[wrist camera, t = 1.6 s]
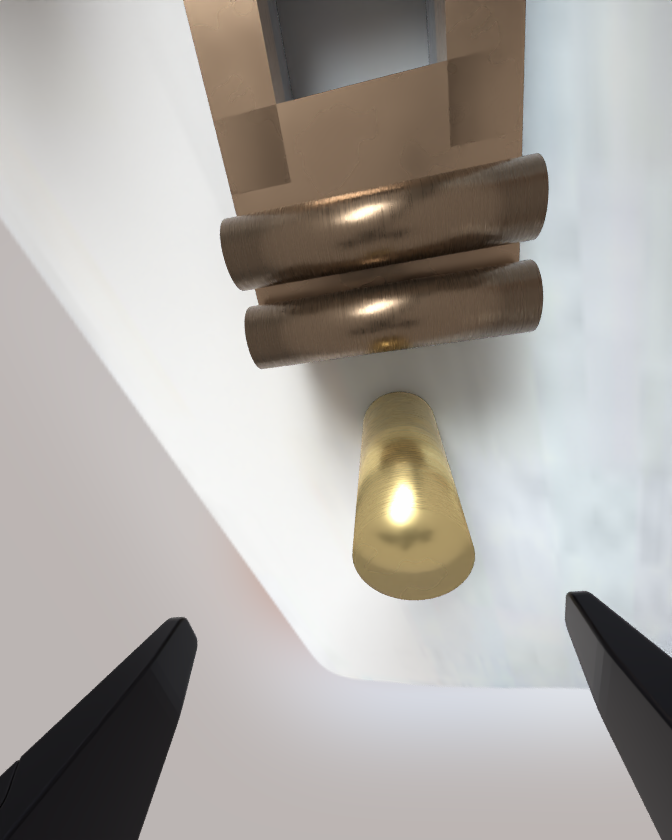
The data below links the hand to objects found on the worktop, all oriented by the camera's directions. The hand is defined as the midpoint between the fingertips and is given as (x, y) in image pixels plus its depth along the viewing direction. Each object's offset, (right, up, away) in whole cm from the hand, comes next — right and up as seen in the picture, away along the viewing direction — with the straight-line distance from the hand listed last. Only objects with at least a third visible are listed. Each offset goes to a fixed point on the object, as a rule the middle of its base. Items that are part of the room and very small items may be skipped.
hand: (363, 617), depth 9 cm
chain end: (+1, +17, +7) cm, 18 cm away
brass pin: (+3, +4, +13) cm, 14 cm away
